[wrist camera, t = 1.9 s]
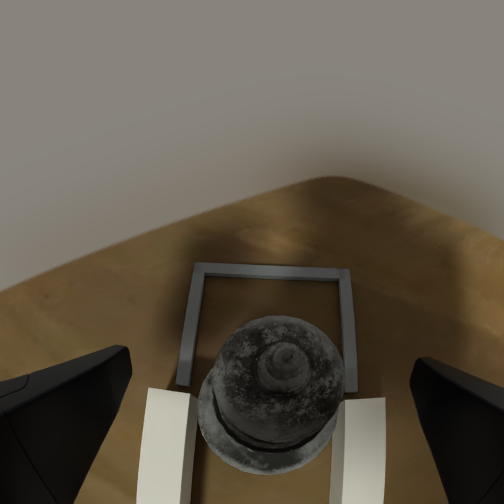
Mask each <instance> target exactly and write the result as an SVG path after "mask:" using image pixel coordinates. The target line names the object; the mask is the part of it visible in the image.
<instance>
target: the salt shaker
mask: <svg viewBox="0 0 504 504" xmlns="http://www.w3.org/2000/svg"><path fill="white" fill-rule="evenodd" d="M344 386H345V372H344V365H343V361H342V359H341V356H340V354H339V352H338V349H337V348H336V346H335V345H334V344H333V342H332V341H331V340H330V338H329V337H328V336H327V335H326V334H325V333H323V332H322V331H321V330H320V329H318V328H317V327H316V326H315V325H313V324H310V323H308V322H306V321H304V320H302V319H300V318H294V317H290V316H285V315H278V316H265V317H262V318H258V319H254V320H251V321H250V322H248V323H246V324H244V325H243V326H241V327H239V328H238V329H237V330H236V331H234V332H233V333H232V334H231V335H230V336H229V337H228V338H227V339H226V341H225V343H224V344H223V346H222V348H221V349H220V351H219V353H218V355H217V358H216V362H215V365H214V367H213V368H212V369H211V370H210V372H209V373H208V375H207V377H206V378H205V380H204V382H203V383H202V386H201V390H200V393H199V396H198V400H197V419H198V422H199V426H200V429H201V433H202V435H203V437H204V439H205V440H206V442H207V443H208V445H209V447H210V448H211V450H212V451H213V452H214V453H215V454H217V455H218V456H219V457H220V458H221V459H222V460H223V461H224V462H225V463H227V464H229V465H231V466H233V467H235V468H237V469H239V470H241V471H244V472H249V473H254V474H259V475H272V474H282V473H286V472H289V471H292V470H295V469H298V468H300V467H302V466H303V465H305V464H306V463H308V462H310V461H311V460H313V459H314V458H315V457H316V456H317V455H318V454H319V453H320V452H321V451H322V450H323V449H324V448H325V446H326V445H327V444H328V442H329V440H330V438H331V436H332V434H333V432H334V430H335V428H336V423H337V418H338V412H339V408H338V407H339V405H340V402H341V400H342V398H343V393H344Z"/></svg>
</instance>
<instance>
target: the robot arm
mask: <svg viewBox="0 0 504 504" xmlns="http://www.w3.org/2000/svg"><path fill="white" fill-rule="evenodd" d="M131 376H132V364H131V358H130V352H129V349H128V348H127V347H126V346H121V345H114V346H111V347H108V348H105V349H102V350H99V351H96V352H93V353H90V354H88V355H85V356H82V357H79V358H76V359H73V360H70V361H67V362H64V363H61V364H58V365H54V366H51V367H48V368H45V369H42V370H39V371H36V372H33V373H30V374H26V375H23V376H20V377H16V378H13V379H9V380H5V381H1V382H0V504H74V501H75V499H76V497H77V495H78V493H79V491H80V488H81V486H82V484H83V482H84V480H85V478H86V476H87V474H88V472H89V470H90V467H91V465H92V463H93V461H94V459H95V457H96V455H97V453H98V451H99V449H100V447H101V445H102V443H103V441H104V439H105V437H106V435H107V433H108V431H109V429H110V427H111V425H112V423H113V421H114V419H115V417H116V415H117V413H118V411H119V408H120V406H121V403H122V400H123V398H124V395H125V392H126V389H127V387H128V384H129V381H130V379H131ZM410 389H411V392H412V396H413V399H414V403H415V407H416V410H417V414H418V418H419V421H420V424H421V427H422V429H423V432H424V435H425V437H426V440H427V442H428V445H429V448H430V450H431V453H432V456H433V459H434V461H435V464H436V467H437V470H438V473H439V476H440V479H441V482H442V485H443V488H444V491H445V494H446V497H447V500H448V503H449V504H504V388H502V387H500V386H497V385H495V384H492V383H490V382H487V381H485V380H483V379H480V378H478V377H475V376H473V375H470V374H468V373H466V372H463V371H461V370H459V369H456V368H454V367H451V366H449V365H447V364H444V363H442V362H440V361H437V360H435V359H432V358H430V357H421V358H418V359H417V360H416V361H415V364H414V368H413V371H412V374H411V378H410Z"/></svg>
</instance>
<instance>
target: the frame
mask: <svg viewBox="0 0 504 504" xmlns="http://www.w3.org/2000/svg"><path fill="white" fill-rule="evenodd" d="M205 276H220V277H240V278H261V279H283V280H309V281H338V285H339V298H340V312H341V329H342V351H343V365H344V372H345V386H344V393H356V392H358V374H357V352H356V335H355V321H354V309H353V298H352V287H351V278H350V269H341V268H315V267H291V266H268V265H245V264H224V263H204V262H195V264H194V270H193V275H192V281H191V286H190V292H189V298H188V304H187V310H186V316H185V322H184V328H183V335H182V341H181V348H180V355H179V362H178V369H177V376H176V385H180V386H188V387H190V381H191V373H192V365H193V357H194V350H195V342H196V335H197V328H198V321H199V314H200V307H201V300H202V293H203V287H204V280H205Z"/></svg>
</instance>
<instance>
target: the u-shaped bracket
mask: <svg viewBox="0 0 504 504" xmlns="http://www.w3.org/2000/svg"><path fill="white" fill-rule="evenodd" d="M197 400H198V399H197V398H195V397H194V396H193V395H191V394H190V393H182V392H174V391H168V390H161V389H155V388H149V389H148V396H147V403H146V411H145V418H144V426H143V435H142V444H141V453H140V463H139V474H138V486H137V501H136V504H190V499H191V486H192V474H193V462H194V451H195V440H196V430H197ZM338 408H339V412H338V418H337V423H336V428H335V430H334V432H333V434H332V460H331V480H330V495H329V504H383V499H384V484H385V461H386V407H385V397H382V398H369V399H352V400H344V401H342V402H340V405H339V407H338Z"/></svg>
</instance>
